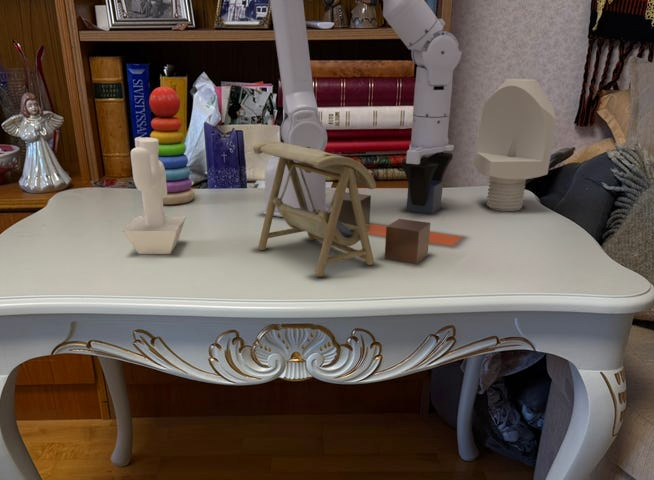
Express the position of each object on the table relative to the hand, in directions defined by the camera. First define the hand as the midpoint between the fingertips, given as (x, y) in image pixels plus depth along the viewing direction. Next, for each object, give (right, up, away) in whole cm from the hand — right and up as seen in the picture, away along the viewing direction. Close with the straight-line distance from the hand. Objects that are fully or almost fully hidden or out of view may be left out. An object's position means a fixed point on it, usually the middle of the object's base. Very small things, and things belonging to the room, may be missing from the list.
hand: (424, 201), depth 111 cm
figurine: (-41, -11, -18) cm, 46 cm away
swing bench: (-19, -13, -21) cm, 31 cm away
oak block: (-13, -6, -8) cm, 16 cm away
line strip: (-7, -7, -11) cm, 15 cm away
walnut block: (-6, -13, -22) cm, 26 cm away
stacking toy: (-44, +2, +7) cm, 44 cm away
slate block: (0, -1, +1) cm, 1 cm away
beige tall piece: (+14, -1, +2) cm, 14 cm away
